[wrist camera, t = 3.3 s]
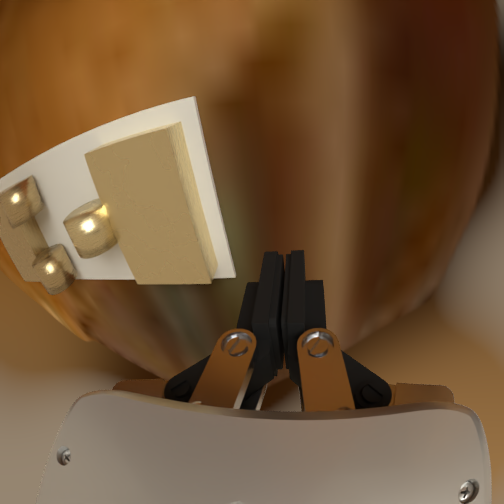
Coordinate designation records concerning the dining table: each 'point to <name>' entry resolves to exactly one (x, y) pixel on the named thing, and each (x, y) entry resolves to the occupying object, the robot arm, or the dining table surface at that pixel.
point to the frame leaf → (32, 239)
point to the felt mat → (83, 190)
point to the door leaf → (146, 209)
